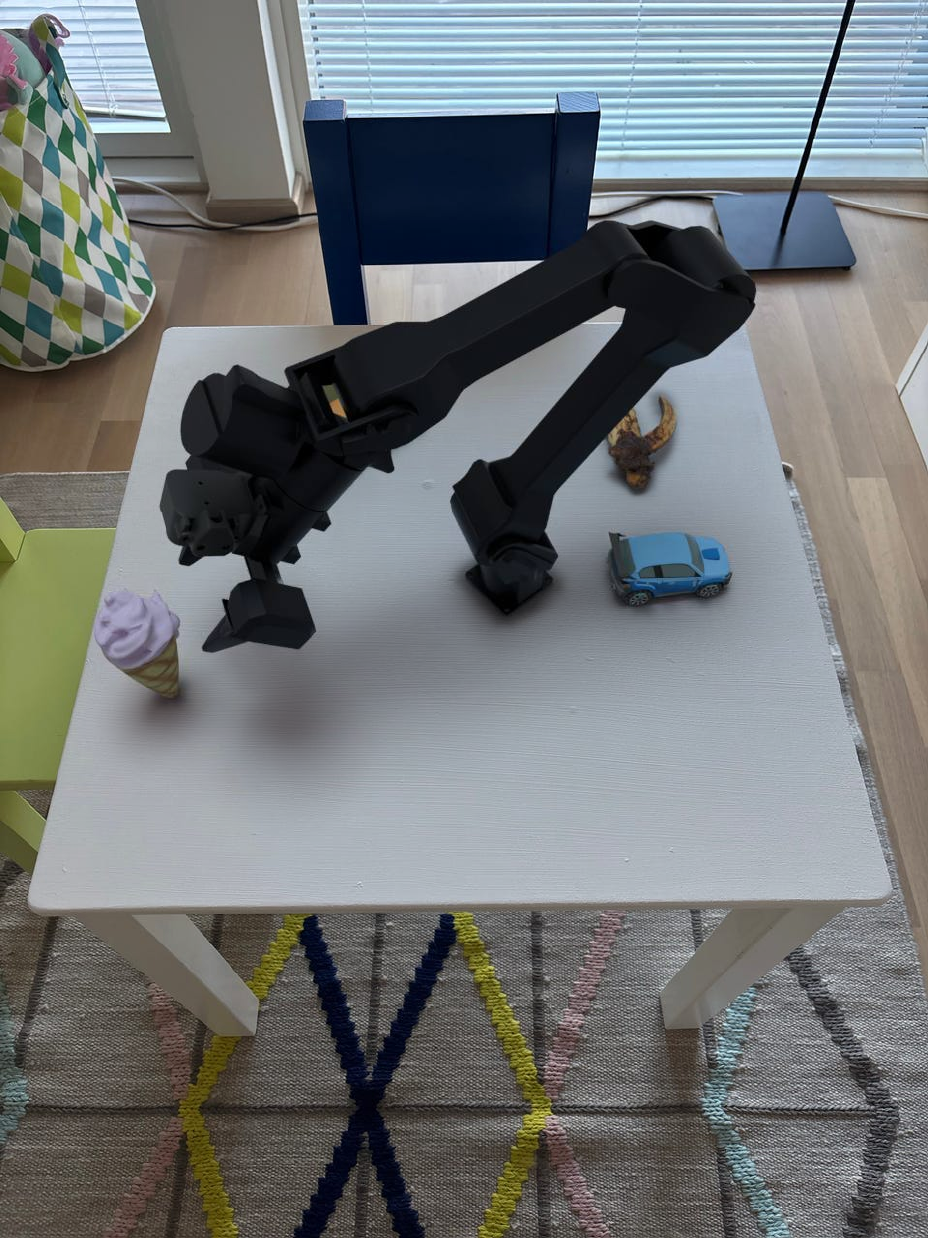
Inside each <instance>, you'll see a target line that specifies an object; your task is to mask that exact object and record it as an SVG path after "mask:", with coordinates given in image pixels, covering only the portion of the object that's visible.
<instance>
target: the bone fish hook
mask: <svg viewBox="0 0 928 1238" xmlns="http://www.w3.org/2000/svg"><path fill="white" fill-rule="evenodd" d="M658 402H659V406H660V409H661V413H662V415H661V419H660V422H659V424H658V425H657V426H655V428H653V429H652V430H651V431H648V432H647V433H646V434H644V435H642V433H641V427H640V424H639V421H638V418H637V412H636V410H635V406H634V407H633V408H632V409H631V411H630V412H629V413H628V414H627V415H626V416H625V417H624V418H623V419H622V420H621V421H620V423H619V424H618V425H617V426H616V427H615V428H614V429H613V430H612V431H611V432H610V434H609V435H608V436H607V437H606V438H607V441H608V443H609V446H610V447H609V448H608V451H607V453H608V455H609V456H610V457H613V458H614V461H615V463H616V465H617V467H618V468H619V470H620V471H621V472H623V473H625V474H626V479H625V481H626V482H627V483H629V485H630V487H632V488H633V489H643V488H647V486H648V484H649V480H650V479H651V474H652V473H653V471H654V469H655V464H656V462H655V461H653V462H652V461H651V460H650V458H649V457H650V456H651V455H653V454H656V453H657V452H659V450H661V449H663V448H664V447H665V446H666V445H667V444H668V443H669V442H670V440H671V438H672V437H673V435H674V433H675V429H676V425H677V414H676V411H675V409H674V407H673V405H672V404H671V403H670V401H668V400H667V399H666V398H665V397H664V396H662V395H659V396H658Z"/></svg>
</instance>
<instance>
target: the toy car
mask: <svg viewBox="0 0 928 1238" xmlns="http://www.w3.org/2000/svg"><path fill="white" fill-rule="evenodd" d="M608 536H609V541H610V545H611V548H610V549H609V550H608V553H607V557H606V558H605V564H608V569H609V573H610V577H611V581H612V583H610V587H611V589H612V590H615V592H616V595H617V596H618V597H619V598H621V599H622V600H625V602H626V604H628V605H630V606H640V605H643V604H646V603H647V602H649V601H650V600H651V598H652V599H653V600H657V599H658V600H659V599H664V598H665V599H666V598H673V597H679V596H680V597H681V596H688V595H693V594H694V595H695V594H696V595H697V596H699V597H702V598H709V597H712V596H713V597H714V596H715V595H717V594H718V593H720V591H724V590H727V588H728V587H729V584H730V581H731V579H732V577H733V572H732V571H731V567H730V561H729V559H728V556H727V555H728V554H727V553H726V549H725V548H724V545H723V544H722V543H721V542H719V541H718V540H717V539H716V538H713V537H709V536H708V537H707V536H696V535H692V534H690V533H687V532H680V531H670V532H657V533H649V534H642V535H638V536H629V537H626V535H624V534H622V533H620V532H610V531H608ZM620 538H622V539H620Z"/></svg>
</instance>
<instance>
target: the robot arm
mask: <svg viewBox="0 0 928 1238" xmlns="http://www.w3.org/2000/svg"><path fill="white" fill-rule="evenodd" d="M756 295H757V287H756V282H755V281H754V280H753V278H752V277H751V276H750V274H749V273H748V272H747V271H746V270H745V269H744V268H743V267H742V266H741V264H740V263H739V262H738V261H737V260H736V259H735V257H734V256H733V255H732V253H731V252H730V251H729V250H728V249H727V247H725V245H724V244H723V243H722V241H720V239H719V238H718V237H717V236H716V235H715V233H714V232H713V231H712V230H711V229H710V228H709V227H706V226H703V225H692V226H687V227H685V228H681V227H678V226H674V225H670V224H667V223H663V222H659V221H656V220H646V221H642V222H639V223H635V224H628V223H625V222H620V221H616V220H613V219H612V220H609V219H605V220H601V221H598V222H596V223H595V224H593V225H591V226H590V227H589V228H587V230H585V232H584V233H583V234H582V236H581V237H580V239H579V240H578V241H577V242H575V243H573V244H571V245H569V246H567V247H565V248H564V249H562V250H560V251H558V252H556V253H555V254H552V255H551V256H549V257H547V258H545V259H544V260H542V261H540V262H538V263H537V264H535V265H533V266H531V267H529V268H527V269H526V270H524V271H522V272H520V273H518V274H517V275H514V276H513V277H511V278H509V279H508V280H506V281H504V282H502V283H500V284H498V285H497V286H494V287H493V288H491V289H490V290H488V291H486V292H484V293H482V294H480V295H478V296H477V297H474V298H473V299H471V300H469V301H468V302H466V303H464V304H462V305H460V306H459V307H456V308H454V309H453V310H451V311H449V312H448V313H446V314H443V315H442V316H438V317H437V318H434V319H431V320H428V321H394V322H391V323H389V324H386V325H383V326H381V327H378V328H376V329H373V330H371V331H368V332H365V333H363V334H360V335H357V336H355V337H353V338H351V339H350V340H348V341H347V342H345V343H344V344H343V345H340V346H338V347H336V348H333V349H330V350H328V351H325V352H322V353H320V354H317V355H315V356H312V357H309V358H307V359H305V360H302V361H300V362H296V363H294V364H291V365H289V366H286V367H285V368H284V370H283V371H284V376H285V378H286V380H287V383H288V386H287V387H285V386H284V385H281V384H278V383H276V382H274V381H271V380H268V379H266V378H264V377H262V376H260V375H259V374H258V373H256V372H255V371H253V370H251V369H250V368H248V367H244V366H242V365H240V364H234V365H232V366H231V368H230V369H229V371H228V372H227V373H226V375H225V374H223V373H220V372H213V373H211V374H209V375H207V376H206V377H204V378H203V379H198V380H197V381H196V383H195V384H194V385H193V386H192V389H191V390H190V392H189V394H188V396H187V398H186V401H185V403H184V407H183V410H182V413H181V418H180V427H179V428H180V431H179V432H180V441H181V445H182V447H183V449H184V451H185V452H186V453H187V454H189V457H188V458H187V460H186V461H185V467H186V469H185V468H184V469H183V468H182V469H179V468H177V469H171V470H169V471H168V472H167V473H166V475H165V479H164V484H163V487H162V492H161V497H160V500H159V511H160V512H161V515H162V519H163V521H164V526H165V533H166V534H165V535H166V537H167V539H168V540H169V541H170V543H172V544H174V545H175V546H178V547H181V549H180V553H179V556H178V560H177V561H178V564H179V565H180V566H184V567H191V566H193V565H194V564H195V563H197V562H199V561H200V560H201V559H203V558H205V557H206V558H207V557H226V556H227V555H230V554H232V555H236V556H239V557H243V559H244V563H245V565H246V568H247V571H248V574H249V575H248V576H249V577H250V579H247V580H244V581H240V582H238V583H237V584H236V585H234V587H233V588H232V589H231V590H230V592H229V596H228V598H221V604H222V607H223V611H224V613H225V614H224V615H223V617H222V618H221V619H220V621H218V623H217V625H216V626H215V627H213V630H211V632H210V633H209V635H208V636H206V639H205V640H204V642H203V644H202V645H201V650H202V652H204V653H210V654H213V653H217V652H220V651H223V650H227V649H230V648H233V647H237V646H239V645H243V644H246V643H252V644H253V643H255V644H259V645H260V644H261V645H266V646H272V647H279V648H285V649H290V650H297V651H299V650H301V648H303V646H305V644H307V642H309V640H310V639H311V638H312V637H313V636H314V634H315V633H317V629H316V625H315V622H314V619H313V616H312V613H311V610H310V608H309V604H308V602H307V598H306V596H305V593H304V590H303V588H302V587H297V586H293V585H289V584H285V583H284V581H283V578H282V575H281V572H280V569H279V566H278V565H279V563H280V562H283V563H286V564H290V565H295V564H296V563H297V562H298V561H299V560H300V559H301V558H302V555H301V552H300V549H299V546H298V545H299V544H300V542H302V540H303V539H304V538H305V537H306V536H307V535H308V533H309V532H310V531H311V530H316V531H319V532H323V533H324V532H326V531H327V530H328V529H329V527H330V526H332V521H331V518H330V515H329V513H328V511H329V510H330V509H331V508H332V507H333V506H334V505H335V504H336V503H337V502H338V501H339V499H340V498H341V497H342V496H343V495H344V494H345V493H346V492H347V491H348V489H349V488H350V487H351V486H352V485H353V484H354V483H355V481H356V480H358V478H359V477H360V476H361V475H362V474H363V473H364V472H365V471H366V469H367V468H372V469H375V470H377V471H380V472H383V473H385V474H389V475H390V474H392V473H393V472H395V465H394V460H393V456H392V450H397V449H399V448H402V447H404V446H407V445H408V444H410V443H412V442H413V441H415V440H416V439H418V438H419V437H420V436H421V435H423V434H424V433H426V432H427V431H429V430H430V429H432V428H433V427H434V426H436V425H438V423H440V422H442V421H443V420H444V419H445V418H446V417H448V415H449V413H450V411H451V410H452V408H453V407H454V406H455V404H456V402H457V401H458V399H459V397H461V394H462V393H463V391H465V390H466V389H467V388H469V387H470V386H472V385H473V384H474V383H476V382H478V381H479V380H480V379H483V378H484V377H486V376H488V375H490V374H492V373H494V372H496V371H498V370H499V369H502V368H503V367H505V366H506V365H509V364H510V363H512V362H514V361H516V360H518V359H520V358H521V357H523V356H525V355H527V354H529V353H530V352H532V351H534V350H536V349H538V348H539V347H542V346H544V345H546V344H547V343H549V342H551V341H553V340H555V339H556V338H558V337H560V336H562V335H564V334H565V333H568V332H569V331H571V330H574V329H575V328H577V327H579V326H581V325H582V324H584V323H586V322H588V321H590V320H591V319H593V318H595V317H597V316H599V315H601V314H603V313H605V312H606V311H609V310H610V309H612V308H614V307H616V308H618V309H619V308H620V309H624V313H623V316H622V322H621V324H620V326H619V327H618V329H617V330H616V331H615V332H614V334H613V335H612V336H611V337H610V338H609V340H608V341H607V342H606V343H605V344H604V346H603V347H602V348H601V349H600V351H599V352H598V353H597V354H596V355H595V356H594V357H593V359H591V361H589V363H588V364H587V365H586V367H585V368H584V369H583V370H582V371H581V373H580V374H579V375H578V376H577V378H576V379H575V380H574V381H573V382H572V383H571V385H570V386H569V387H568V388H567V389H566V391H565V392H564V393H563V394H562V395H561V396H560V397H559V399H558V400H557V401H556V402H555V403H554V405H553V406H552V407H551V408H550V409H549V411H548V412H547V413H546V414H545V415H544V417H542V419H541V420H540V421H539V423H538V424H537V425H536V426H535V427H534V428H533V429H532V431H531V432H530V433H529V434H528V435H527V437H525V439H524V440H523V441H522V442H521V444H520V445H519V446H518V447H517V448H516V450H515V451H514V452H512V454H511V455H509V456H507V457H503V458H499V459H496V460H492V461H486V460H484V459H483V458H478V459H476V460H475V461H473V462H472V463H471V466H470V467H469V469H468V470H467V471H466V473H465V474H464V476H463V477H462V478H460V479H459V480H458V481H457V482H456V483H454V484H452V486H451V488H452V489H453V493H452V495H451V496H450V500H449V504H450V509H451V513H452V514H453V517H454V519H455V521H456V523H457V525H458V527H459V529H460V531H461V534H462V535H463V537H464V540H465V543H466V544H467V546H468V548H469V550H470V552H471V554H472V556H473V559H474V561H475V563H476V564H475V565H473V567H471V568H470V569H468V570H467V571H466V572H465V573H464V574H465V575H464V577H465V579H466V581H467V582H469V584H470V585H472V587H474V588H475V589H476V591H478V592H479V594H481V596H482V597H484V598H485V599H486V600H487V601H488V602H489V604H491V605H492V606H493V607H494V608H495V609H496V610H497V611H498V612H499V613H500V614H501V615H502V616H503V617H509V616H511V615H513V614H514V613H515V612H517V611H518V610H519V609H521V608H522V607H523V606H525V605H526V604H528V603H529V602H531V601H532V600H533V599H534V598H536V597H537V596H538V595H540V594H541V593H542V592H544V591H545V590H546V589H548V588H549V587H551V586H552V585H553V584H554V577H553V576H552V575H550V574H549V572H548V571H550V570H551V569H553V566H554V565H555V563H556V562H557V560H558V558H559V554H558V552H557V550H556V549H555V547H554V545H553V543H552V541H551V539H550V538H549V536H548V534H547V532H546V529H547V526H548V523H549V518H550V514H551V511H552V506H553V501H554V498H555V495H556V493H557V492H558V491H559V490H560V489H561V487H562V486H563V485H564V484H565V483H566V482H568V479H570V477H572V475H573V474H574V473H575V472H576V471H577V470H578V469H579V468H580V466H581V465H582V464H583V463H584V462H585V461H586V460H587V459H588V458H589V457H590V456H591V455H592V453H594V451H595V450H596V449H597V448H598V447H599V446H600V445H601V444H602V443H603V441H604V440H605V439H606V438H608V437H607V436H608V435H609V434H610V432H611V431H612V430H613V429H614V428H615V427H616V426H617V425H618V424H619V423H620V421H621V420H622V419H623V418H624V417H625V416H626V415H627V414H628V413H629V412H630V411H631V409H632V408H633V407H634V408H635V406H637V404H638V403H639V402H640V401H641V400H642V399H643V398H644V396H646V394H647V393H648V392H649V391H650V390H651V389H652V388H653V387H654V386H655V385H656V383H658V381H659V380H660V379H661V378H662V377H663V376H664V375H665V374H666V373H667V372H668V371H670V369H672V368H674V367H678V366H682V365H685V364H688V363H691V362H694V361H697V360H701V359H703V358H706V357H708V356H710V355H711V354H712V353H713V352H714V351H716V350H717V348H719V347H721V345H722V344H723V343H724V342H725V341H726V340H728V339H729V338H730V337H731V336H733V335H734V334H735V333H736V332H737V331H739V330H740V329H741V328H742V327H743V325H744V324H745V323H746V322H747V320H748V319H749V318H750V317H751V316H752V314H753V312H754V310H755V308H756V302H755V300H756ZM327 385H333V387H334V390H335V392H336V394H337V396H338V399H339V401H340V403H341V406H342V408H343V410H344V413H345V415H346V417H347V418H345V417H343V416H340V415H338V414H336V413H333V410H332V408H331V405H330V403H329V401H328V398H327V396H326V394H325V391H324V389H323V387H322V386H327ZM470 575H471V576H470Z"/></svg>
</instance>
